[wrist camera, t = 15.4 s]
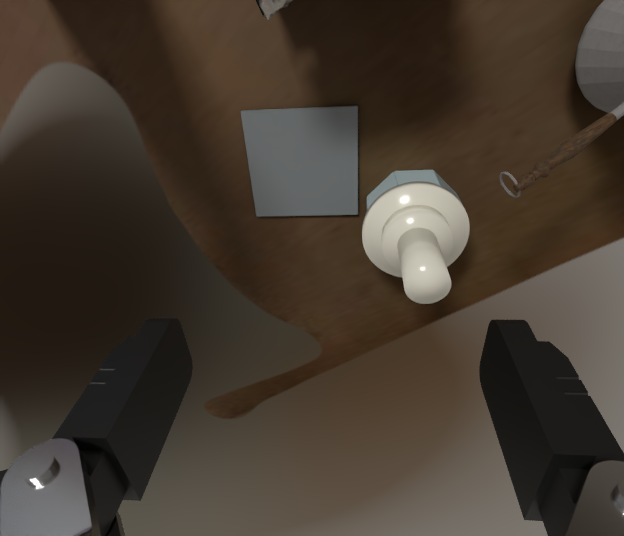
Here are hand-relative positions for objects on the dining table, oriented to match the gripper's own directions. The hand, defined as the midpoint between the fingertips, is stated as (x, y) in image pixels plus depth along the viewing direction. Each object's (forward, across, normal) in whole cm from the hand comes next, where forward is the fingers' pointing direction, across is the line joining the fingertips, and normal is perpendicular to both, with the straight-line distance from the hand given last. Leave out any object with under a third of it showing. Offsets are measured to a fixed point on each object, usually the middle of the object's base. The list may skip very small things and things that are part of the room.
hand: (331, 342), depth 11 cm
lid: (+32, +7, -14) cm, 36 cm away
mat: (+36, -5, -8) cm, 37 cm away
